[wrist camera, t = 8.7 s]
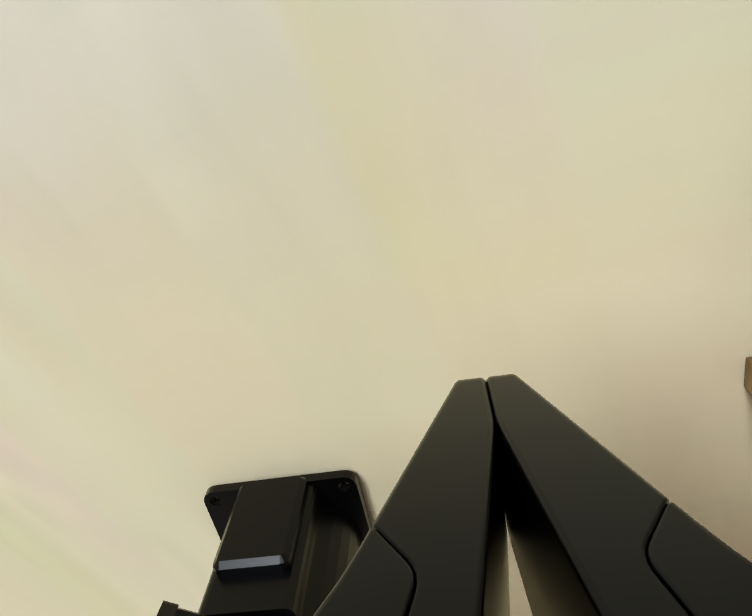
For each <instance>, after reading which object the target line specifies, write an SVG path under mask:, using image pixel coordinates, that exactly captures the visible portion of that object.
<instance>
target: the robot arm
mask: <svg viewBox="0 0 752 616" xmlns="http://www.w3.org/2000/svg"><path fill="white" fill-rule="evenodd" d="M341 482H347V483H349V484H343V483H341ZM215 497H218V498H220V499H217V498H215ZM204 502H205V505H206V507H207V509H208V512H209V514H210V516H211V519H212V521H213V523H214V525H215V528H216V530H217V532H218V535H219V537H220V539H221V543H220V546H219V549H218V551H217V554H216V557H215V560H214V563H213V568H214V569H213V571H212V574H211V577H210V580H209V583H208V586H207V589H206V592H205V594H204V597H203V600H202V603H201V606H200V609H199V612H198V613H195V612H192V611H188V610H185V609H181V608H178V606H179V605H178V604H174V603H171V602H167V601H163V603H162V605H161V607H160V609H159V612H158V614H157V616H510V608H509V572H508V543H507V529H506V523H507V528H508V532H509V536H510V540H511V544H512V547H513V551H514V554H515V558H516V561H517V564H518V568H519V571H520V574H521V578H522V581H523V584H524V588H525V591H526V594H527V598H528V601H529V604H530V608H531V611H532V614H533V616H752V563H751V562H750V561H749V560H747V559H746V558H744V557H743V556H741V555H740V554H739V553H737V552H736V551H734V550H733V549H732V548H730V547H729V546H728V545H726V544H725V543H724V542H722V541H721V540H720V539H719V538H717V537H716V536H715V535H713V534H712V533H711V532H709V531H708V530H707V529H706V528H704V527H703V526H702V525H700V524H699V523H698V522H696V521H695V520H694V519H693V518H691V517H690V516H689V515H688V514H687V513H685V512H684V511H683V510H682V509H680V508H679V507H678V506H677V505H675V504H674V503H672V502H670V503H669V500H668V498H666V497H665V496H664V495H663V494H661V493H660V492H659V491H658V490H657V489H655V488H654V487H653V486H652V485H650V484H649V483H648V482H647V481H645V480H644V479H643V478H642V477H641V476H639V475H638V474H637V473H636V472H634V471H633V470H632V469H631V468H629V467H628V466H627V465H626V464H625V463H623V462H622V461H621V460H620V459H618V458H617V457H616V456H615V455H613V454H612V453H611V452H610V451H609V450H607V449H606V448H605V447H604V446H602V445H601V444H600V443H599V442H597V441H596V440H595V439H594V438H593V437H591V436H590V435H589V434H588V433H586V432H585V431H584V430H583V429H581V428H580V427H579V426H578V425H577V424H575V423H574V422H573V421H572V420H570V419H569V418H568V417H567V416H566V415H564V414H563V413H562V412H561V411H559V410H558V409H557V408H556V407H554V406H553V405H552V404H551V403H550V402H548V401H547V400H546V399H545V398H543V397H542V396H541V395H540V394H538V393H537V392H536V391H535V390H534V389H532V388H531V387H530V386H529V385H527V384H526V383H525V382H524V381H522V380H521V379H520V378H519V377H518V376H516V375H514V374H509V375H500V376H492V377H489V378H488V379H487V380H486V381H485V380H484V379H482V378H475V379H466V380H459V381H457V382H456V383H455V384H454V386H453V388H452V390H451V391H450V393H449V395H448V396H447V398H446V400H445V402H444V403H443V405H442V407H441V409H440V410H439V412H438V414H437V415H436V417H435V419H434V421H433V422H432V424H431V426H430V427H429V429H428V431H427V433H426V434H425V436H424V438H423V439H422V441H421V443H420V445H419V446H418V448H417V450H416V451H415V453H414V455H413V457H412V458H411V460H410V462H409V463H408V465H407V467H406V469H405V470H404V472H403V474H402V475H401V477H400V479H399V481H398V482H397V484H396V486H395V488H394V489H393V491H392V493H391V494H390V496H389V498H388V500H387V501H386V503H385V505H384V506H383V508H382V510H381V512H380V513H379V515H378V517H377V518H376V520H375V522H374V524H373V525H372V527H371V524H370V520H369V517H368V513H367V510H366V506H365V503H364V499H363V495H362V492H361V488H360V485H359V481H358V478H357V476H356V475H355V474H354V473H353V472H350V471H346V470H342V471H334V472H325V473H317V474H308V475H300V476H291V477H283V478H274V479H266V480H258V481H249V482H241V483H232V484H224V485H215V486H212V487H210V488H209V489H208V490H207V493H206V495H205V498H204ZM505 518H506V520H505Z"/></svg>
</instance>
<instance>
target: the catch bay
mask: <svg viewBox="0 0 752 616" xmlns="http://www.w3.org/2000/svg"><path fill="white" fill-rule="evenodd" d="M744 386H745V387H746V388H747V390H748V391H749V392H750V393H751V394H752V357H747V358H746V367H745V380H744Z"/></svg>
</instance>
